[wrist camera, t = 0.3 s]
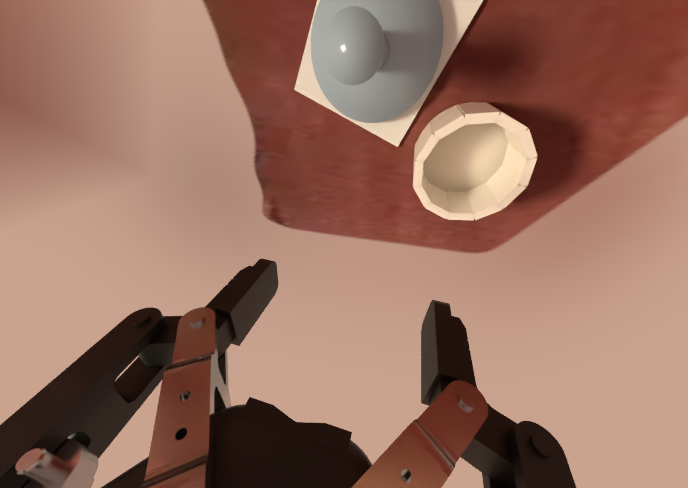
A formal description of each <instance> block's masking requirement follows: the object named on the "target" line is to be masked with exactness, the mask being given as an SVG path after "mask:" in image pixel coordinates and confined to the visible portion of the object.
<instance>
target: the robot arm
mask: <svg viewBox="0 0 688 488" xmlns="http://www.w3.org/2000/svg"><path fill="white" fill-rule="evenodd" d="M277 288H278V276H277V265H276V262H274V261H270V260H266V259H260V260H258V262H257V263H256V264H255V265H254V266H248V267H246V268H244V269H243V270H241V271H239V273H238V274H237V275H236V276H235V277H234V278H233V279H232V280H231V281H230V282H229V283H228V285H226V286H225V287H224V288H223V289H222V290H221V291H220V292H219V293H218V294H217V295H216V296H215V297H214V298H213V299H212V300H211V302H210V303H209V304H208V305H207V306H206V307H203V308H202V307H201V308H197V309H193V310H191V311H189V312H188V313H186V314H185V315H184V316H162V314H161V312H160V310H158V309H156V308H144V309H141V310H138V311H136V312H134V313H132V314H130V315H129V316H127V317H126V318H125V319H124V320H123V321H122V322H120V323H119V324H118V325H117V326H116V327H115V328H114V329H112V330H111V331H110V332H109V333H108V334H107V335H105V336H104V337H103V338H102V339H101V340H99V341H98V342H97V343H96V344H95V345H93V346H92V347H91V348H90V349H89V350H88V351H86V352H85V353H84V354H83V355H82V356H81V357H79V358H78V359H77V360H76V361H75V362H74V363H72V364H71V365H70V366H69V367H68V368H67V369H66V370H64V371H63V372H62V373H61V374H60V375H59V376H57V377H56V378H55V379H54V380H53V381H51V382H50V383H49V384H48V385H47V386H46V387H45V388H43V389H42V390H41V391H40V392H39V393H37V394H36V395H35V396H34V397H33V398H32V399H30V400H29V401H28V402H27V403H26V404H25V405H24V406H22V407H21V408H20V409H19V410H17V411H16V412H15V413H14V414H13V415H12V416H10V417H9V418H8V419H7V420H6V421H5V422H4V423H2V424H1V425H0V488H91V486H92V484H93V481H94V475H95V473H96V470H97V467H98V458H99V457H100V456H101V455H102V453H103V452H104V451H105V450H106V448H107V447H108V446H109V445H110V443H111V442H112V441H113V440H114V438H115V437H116V436H117V435H118V433H119V432H120V431H121V430H122V428H123V427H124V426H125V425H126V424H127V422H128V421H129V420H130V418H131V417H132V416H133V415H134V414H135V412H136V411H137V410H138V409H139V408H140V406H141V405H142V404H143V402H144V401H145V400H146V399H147V398H148V396H149V395H150V394H151V393H152V391H153V390H154V389H155V387H156V386H157V385H158V384H159V383H160V381H161V380H162V385H161V391H160V396H159V402H158V408H157V414H156V419H155V425H154V430H153V436H152V442H151V447H150V453H149V457H147V458H146V459H145V460H143V461H141V462H140V463H138V464H137V465H135V466H134V467H132V468H131V469H129V470H128V471H126V472H124V473H123V474H121V475H120V476H118V477H117V478H115V479H114V480H112V481H111V482H109V483H107V484H106V485H104V486H103V487H101V488H441V487H442V486H443V484H444V483H445V481H446V480H447V478H448V477H449V476H450V474H451V473H452V471H453V469H454V467H455V464H456V462H457V460H458V459H459V458H460V457H461V458H463V459H464V460H466V461H467V462H468V463H470V464H471V465H472V466H474V467H475V468H477V469H478V470H479V471H481V472H482V476H483V484H484V488H576V486H575V483H574V480H573V477H572V474H571V471H570V468H569V465H568V462H567V459H566V456H565V454H564V451H563V449H562V447H561V446H560V444H559V443H558V441H557V440H556V439H555V438H554V437H553V436H552V435H551V434H550V433H549V432H548V431H547V430H546V429H545V428H543V427H542V426H540V425H538V424H536V423H534V422H530V421H522V422H520V423H519V424H517V423H515V422H514V421H512V420H510V419H509V418H507V417H506V416H504V415H502V414H501V413H499V412H497V411H496V410H494V409H493V408H492V407H491V406H490V405H489V404H488V403H487V402H486V400H485V398H484V397H483V395H482V394H481V393H480V391H479V390H478V389H477V386H476V383H475V376H474V371H473V365H472V360H471V355H470V350H469V343H468V341H467V339H468V338H467V333H466V328H465V326H464V325H463V323H462V321H461V320H460V318H458V317H453V316H451V310H450V305H449V304H448V303H444V302H440V301H435V300H432V301H431V303H430V306H429V308H428V311H427V313H426V316H425V318H424V321H423V324H422V331H421V403H423V404H426V405H429V407H428V408H427V409H426V410H425V411H424V412H423V414H422V415H421V416H420V417H419V418H418V419H417V420H414V421H413V422H412V423H411V424H410V425H409V426H408V427H407V428H406V429H405V430H404V431H403V432H402V434H401V435H400V436H399V437H398V438H397V439H396V440H395V441H394V442H393V443H392V444H391V445H390V446H389V448H388V449H387V450H386V451H385V452H384V453H383V454H382V455H381V456H380V457H379V459H378V460H377V461H376V462H375V463H374V464H373V465H372V464H371V462H370V461H369V459H368V457H367V456H366V455H365V453H364V452H363V451H362V450H361V449H360V448H359V447H358V446H357V445H356V444H355V443H353V442H352V441H351V440H350V439H351V433H352V432H349V431H347V430H344V429H341V428H338V427H335V426H332V425H329V424H326V423H301V422H295V421H293V420H292V419H291V418H289V417H288V416H287V415H285V414H284V413H283V412H282V411H280V410H279V409H278V408H276V407H275V406H274V405H271V404H268V403H265V402H262V401H259V400H257V399H254V398H251V397H250V398H249V399H248V401H247V403H246V405H236V406H233V407H231V403H230V396H229V390H228V366H227V365H228V362H227V348H228V347H229V346H230V344H235V345H238V346H239V345H240V344H241V343H242V341H243V340H244V338H245V337H246V335H247V334H248V332H249V331H250V330H251V328H252V327H253V325H254V324H255V322H256V321H257V320H258V318H259V317H260V315H261V314H262V312H263V311H264V309H265V308H266V307H267V305H268V304H269V302H270V301H271V299H272V298H273V296H274V295H275V293H276V291H277ZM137 356H139V357H138V358H137V359H136V361H134V362H133V363H132V365H131V366H130V367H129V368H128V369H127V370H126V371H125V372H124V373H123V374H122V375H121V376H120V377H119V378H118V379H117V380H116V378H117V377H118V376H119V374H120V373H121V372H122V371H123V370H124V369H125V368H126V367H127V366H128V365H129V364H130V363H131V362H132V361H133V360H134V359H135V358H136V357H137ZM115 380H116V381H115Z"/></svg>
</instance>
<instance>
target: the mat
mask: <svg viewBox="0 0 688 488" xmlns="http://www.w3.org/2000/svg"><path fill="white" fill-rule="evenodd" d="M482 1H483V0H439V2H440V6H441V11H442V16H443V44H442V51H441V56H440V59H439V63H438V66H437V69H436V71H435V74H434V76H433V78H432V80H431V82H430V84H429V86H428V87H427V89H426V90H425V92H424V93H423V95H422V96H421V97H420V98H419V100H418V101H417V102H416V103H415V104H414V105H413V106H412V107H410V108H409V109H408V110H407V111H405V112H404V113H402V114H401V115H399V116H397V117H395V118H393V119H390V120H387V121H384V122H378V123H365V122H359V121H356V120H353V119H351V118H349V117H347V116H345V115H344V114H342V113H340V112H339V111H338V110H337V109H336V108H335V107H334V106H333V105H332V104H331V103H330V102H329V101H328V99H327V98H326V97H325V95H324V94H323V92H322V90H321V88H320V86H319V84H318V81H317V79H316V76H315V72H314V69H313V64H312V58H311V32H312V25H313V20H314V16H315V13H316V9H317V6H318V4H319V2H320V0H317V3H316V7H315V11H314V15H313V19H312V23H311V27H310V31H309V35H308V39H307V43H306V46H305V50H304V54H303V58H302V62H301V66H300V70H299V74H298V78H297V82H296V85H295V89H294V90H296V91H298V92H299V93H301V94H303V95H305V96H307V97H308V98H310V99H312V100H314V101H316V102H318V103H319V104H321V105H323V106H325V107H327V108H328V109H330V110H332V111H334V112H336V113H337V114H339V115H341V116H343V117H345V118H346V119H348V120H350V121H352V122H354V123H355V124H357V125H359V126H361V127H363V128H364V129H366V130H368V131H370V132H372V133H373V134H375V135H377V136H379V137H381V138H382V139H384V140H386V141H388V142H390V143H391V144H393V145H395V146H397V147H398V145H399V144H400V142H401V140H402V139H403V137H404V135H405V133H406V132H407V130H408V128H409V127H410V125H411V123H412V121H413V120H414V118H415V116H416V115H417V113H418V111H419V109H420V108H421V106H422V104H423V103H424V101H425V99H426V97H427V96H428V94H429V92H430V91H431V89H432V87H433V85H434V84H435V82H436V80H437V79H438V77H439V75H440V73H441V72H442V70H443V68H444V67H445V65H446V63H447V61H448V60H449V58H450V56H451V55H452V53H453V51H454V49H455V48H456V46H457V44H458V43H459V41H460V39H461V37H462V36H463V34H464V32H465V31H466V29H467V27H468V25H469V24H470V22H471V20H472V19H473V17H474V15H475V13H476V12H477V10H478V8H479V7H480V5H481V3H482Z"/></svg>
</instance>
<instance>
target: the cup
mask: <svg viewBox="0 0 688 488" xmlns="http://www.w3.org/2000/svg"><path fill="white" fill-rule="evenodd" d="M536 161H537V153H536V149H535V146H534V143H533V140H532V136H531V133H530V130H529V129H528V127H526V126H525V125H523V124H521V123H520V122H518V121H517V120H515V119H513V118H512V117H510V116H509V115H507V114H505V113H504V112H502V111H500V110H499V109H497V108H495V107H494V106H492V105H490V104H489V103H486V102H483V103H479V102H468V103H462V104H457V105H455V106H452V107H450V108H448V109H446V110H444V111H442V112H441V113H439V114H438V115H437V116H435V117H434V118H433V119H432V120H431V121H430V122H429V123H428V124H427V125H426V127H425V128H424V129H423V131H422V132H421V134H420V136H419V138H418V141H417V142H416V144H415V151H414V166H413V188H414V190H415V191H416V193H417V195H418V197H419V198H420V200H421V202H422V204H423V205H424V207H426V209H428V210H430V211H432V212H433V213H435V214H437V215H439V216H441V217H443V218H445V219H448V220H474V218H475V220H477V219H479V218H482V217H485V216H487V215H490V214H493V213H495V212H498V211H500V210H502V208H505V207H506V206H508V205H509V204H510V203H511V202H512V201H513V200H514V199H515V198H516V197H517V196H518V195H519V194H520V193H521V192H522V191H523V190H524V189H526V187H525V186H528V183H529V181H530V178H531V175H532V172H533V169H534V167H535V164H536Z"/></svg>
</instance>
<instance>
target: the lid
mask: <svg viewBox="0 0 688 488" xmlns="http://www.w3.org/2000/svg"><path fill="white" fill-rule="evenodd" d="M442 44H443V16H442V11H441V6H440V2H439V0H320V2H319V4H318V6H317V9H316V13H315V16H314V20H313V25H312V32H311V58H312V64H313V69H314V72H315V76H316V79H317V81H318V84H319V86H320V88H321V90H322V92H323V94H324V95H325V97H326V98H327V99H328V101H329V102H330V103H331V104H332V105H333V106H334V107H335V108H336V109H337V110H338V111H339V112H340V113H342V114H344V115H345V116H347V117H349V118H351V119H353V120H356V121H359V122H365V123H378V122H384V121H387V120H390V119H393V118H395V117H397V116H399V115H401V114H402V113H404V112H405V111H407V110H408V109H409V108H410V107H412V106H413V105H414V104H415V103H416V102H417V101H418V100H419V98H420V97H421V96H422V95H423V93H424V92H425V90H426V89H427V87H428V86H429V84H430V82H431V80H432V78H433V76H434V74H435V71H436V69H437V66H438V63H439V59H440V56H441V51H442Z"/></svg>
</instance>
